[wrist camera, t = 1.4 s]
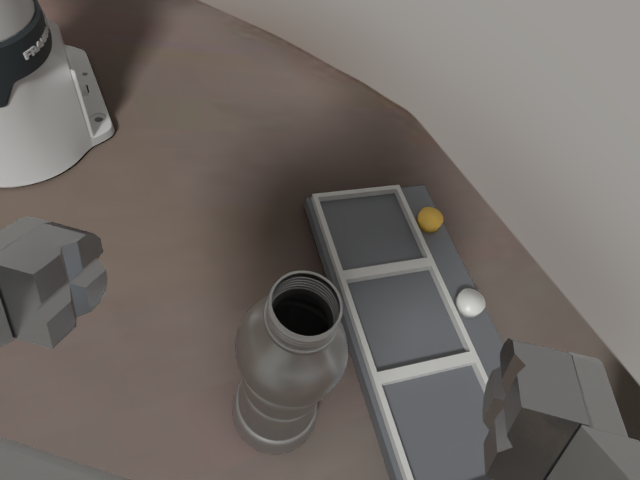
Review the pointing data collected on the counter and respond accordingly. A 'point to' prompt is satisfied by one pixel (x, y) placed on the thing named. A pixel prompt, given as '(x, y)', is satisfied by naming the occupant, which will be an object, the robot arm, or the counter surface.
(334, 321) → the plastic bottle
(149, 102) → the counter surface
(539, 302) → the counter surface
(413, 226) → the board
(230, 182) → the counter surface
